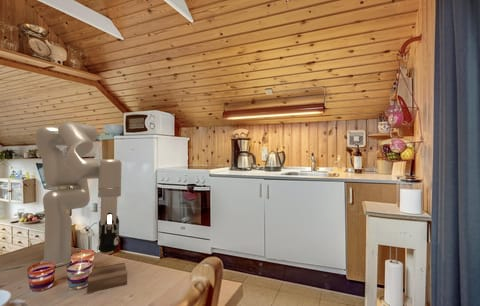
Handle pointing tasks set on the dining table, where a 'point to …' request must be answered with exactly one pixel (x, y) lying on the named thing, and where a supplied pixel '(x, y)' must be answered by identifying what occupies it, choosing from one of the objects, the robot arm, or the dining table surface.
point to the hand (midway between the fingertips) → (108, 241)
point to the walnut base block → (107, 277)
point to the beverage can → (101, 237)
